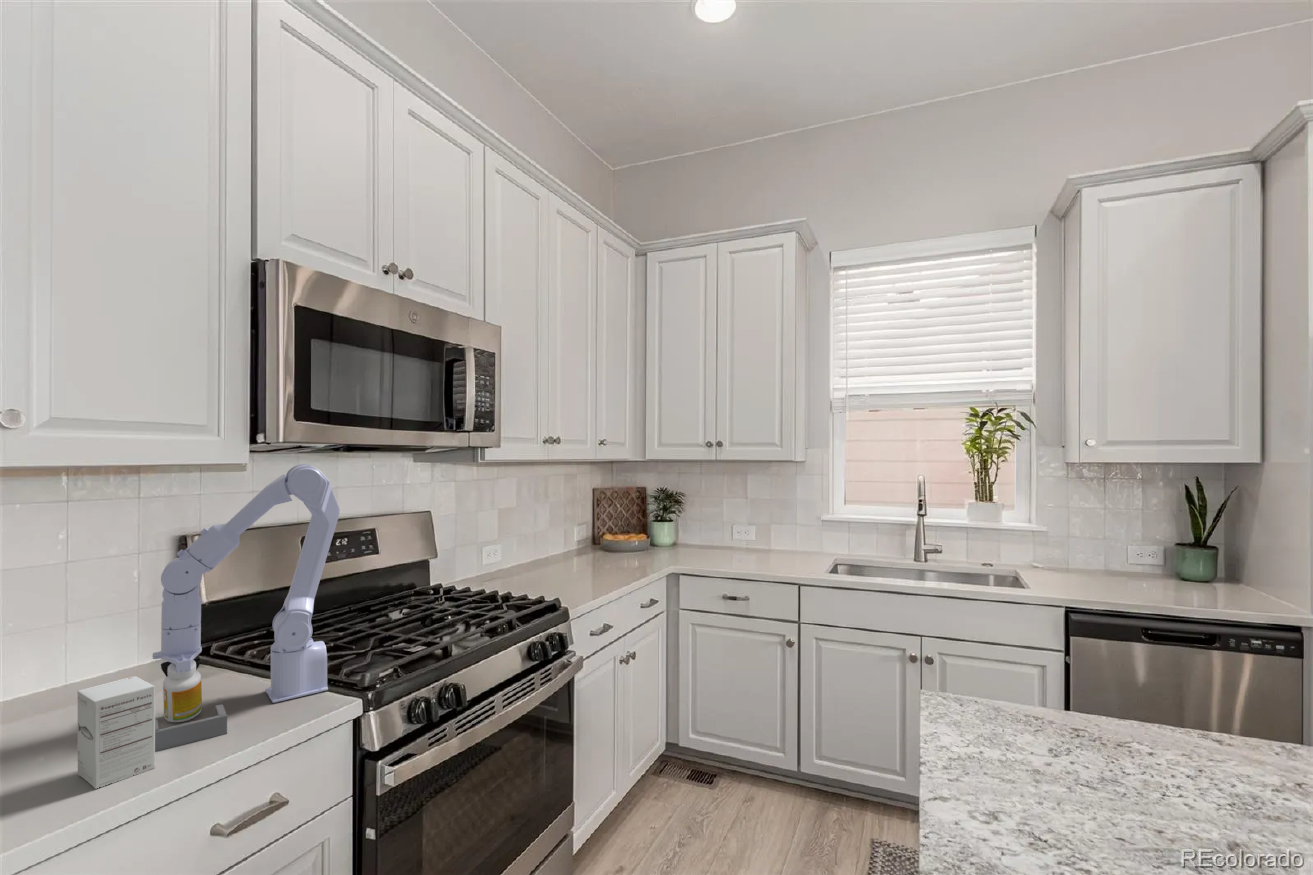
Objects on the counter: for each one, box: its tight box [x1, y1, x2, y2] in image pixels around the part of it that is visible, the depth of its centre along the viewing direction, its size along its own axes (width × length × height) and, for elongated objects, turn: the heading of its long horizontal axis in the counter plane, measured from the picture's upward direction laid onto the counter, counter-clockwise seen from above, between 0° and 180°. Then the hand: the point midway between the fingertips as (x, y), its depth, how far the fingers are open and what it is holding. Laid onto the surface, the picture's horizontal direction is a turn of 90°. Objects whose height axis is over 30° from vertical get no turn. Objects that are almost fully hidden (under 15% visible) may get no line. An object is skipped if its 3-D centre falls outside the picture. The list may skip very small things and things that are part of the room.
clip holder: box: [155, 703, 228, 752], centre depth 106 cm, size 10×6×3 cm, turn 130°
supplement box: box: [77, 675, 156, 790], centre depth 95 cm, size 7×7×13 cm
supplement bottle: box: [162, 660, 203, 723], centre depth 112 cm, size 5×5×10 cm
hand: (180, 701), depth 115 cm, fingers closed, pressing on supplement bottle
